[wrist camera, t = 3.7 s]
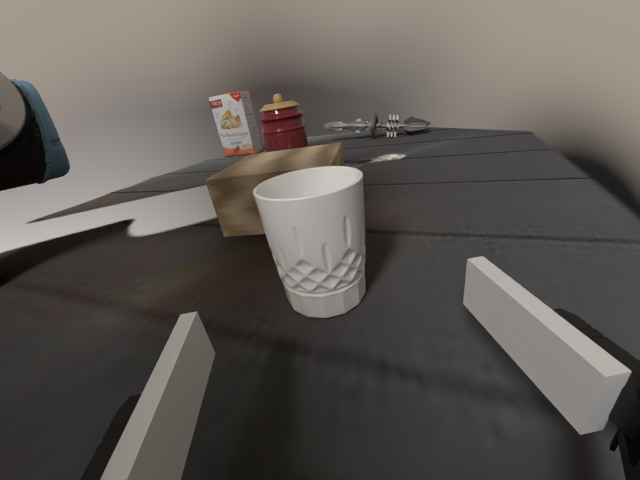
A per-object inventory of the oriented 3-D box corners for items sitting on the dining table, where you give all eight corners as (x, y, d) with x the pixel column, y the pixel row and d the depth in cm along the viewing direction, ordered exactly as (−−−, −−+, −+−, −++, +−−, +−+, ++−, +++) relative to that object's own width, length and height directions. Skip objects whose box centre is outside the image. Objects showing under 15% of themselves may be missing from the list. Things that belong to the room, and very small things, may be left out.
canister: (286, 164, 79) (272, 93, 71) (259, 162, 88) (244, 99, 80) (318, 153, 87) (309, 88, 79) (291, 152, 96) (280, 94, 88)
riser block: (224, 236, 39) (205, 180, 36) (261, 198, 53) (250, 154, 50) (339, 228, 36) (330, 165, 33) (346, 189, 50) (341, 142, 47)
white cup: (356, 260, 29) (345, 160, 24) (387, 310, 22) (380, 182, 17) (279, 278, 28) (253, 178, 24) (286, 336, 21) (251, 209, 16)
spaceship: (328, 117, 103) (321, 110, 96) (431, 116, 91) (431, 108, 84) (326, 140, 105) (319, 135, 97) (428, 141, 92) (427, 136, 85)
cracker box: (224, 157, 110) (207, 97, 101) (234, 153, 115) (218, 96, 105) (254, 154, 104) (238, 90, 95) (263, 151, 109) (249, 89, 100)
